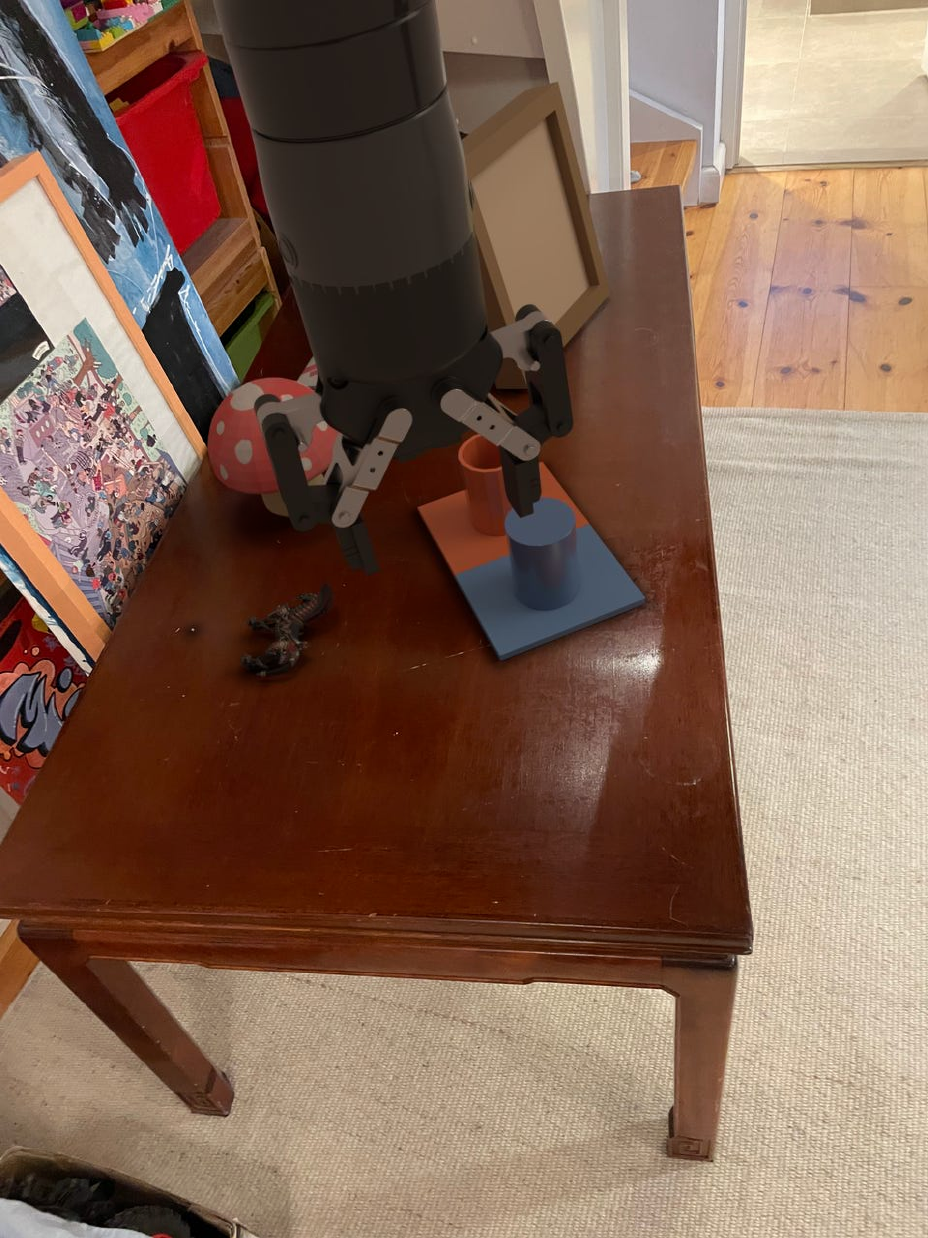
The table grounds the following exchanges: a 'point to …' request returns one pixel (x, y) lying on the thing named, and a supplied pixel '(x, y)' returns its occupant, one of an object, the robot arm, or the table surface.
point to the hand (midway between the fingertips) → (444, 535)
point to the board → (490, 580)
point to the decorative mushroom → (261, 443)
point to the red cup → (484, 485)
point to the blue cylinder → (544, 555)
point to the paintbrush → (309, 375)
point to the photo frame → (533, 219)
